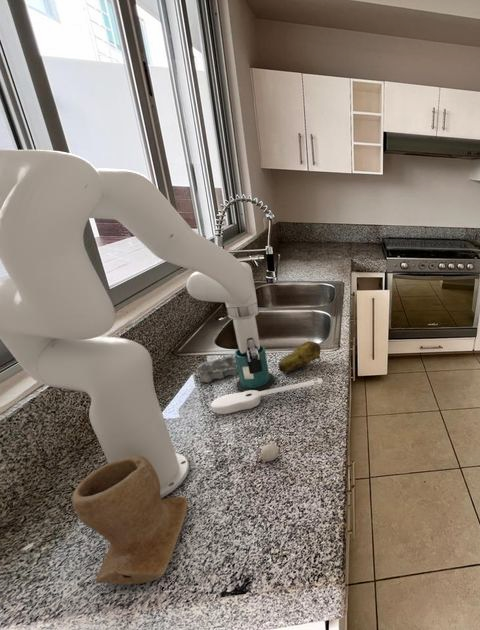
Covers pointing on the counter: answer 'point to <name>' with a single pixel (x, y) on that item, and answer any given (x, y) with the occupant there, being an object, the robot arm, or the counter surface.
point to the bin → (243, 369)
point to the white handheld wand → (251, 398)
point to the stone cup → (130, 519)
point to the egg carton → (217, 369)
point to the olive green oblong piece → (300, 357)
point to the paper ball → (269, 452)
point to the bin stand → (256, 387)
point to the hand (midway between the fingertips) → (253, 364)
